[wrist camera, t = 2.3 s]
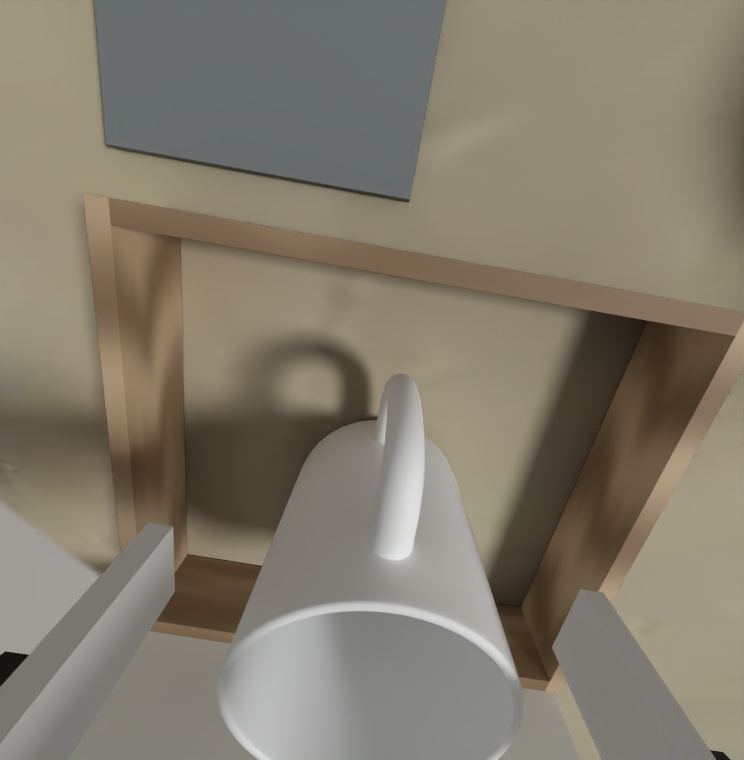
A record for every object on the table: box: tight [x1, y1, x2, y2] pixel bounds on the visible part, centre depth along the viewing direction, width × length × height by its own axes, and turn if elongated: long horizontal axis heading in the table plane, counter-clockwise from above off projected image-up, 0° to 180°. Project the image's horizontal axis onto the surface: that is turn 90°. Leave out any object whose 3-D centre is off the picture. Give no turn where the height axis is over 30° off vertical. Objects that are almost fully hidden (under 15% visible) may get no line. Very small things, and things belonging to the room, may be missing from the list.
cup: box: [217, 374, 524, 760], centre depth 13 cm, size 8×12×10 cm
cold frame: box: [83, 193, 744, 694], centre depth 16 cm, size 20×23×4 cm
